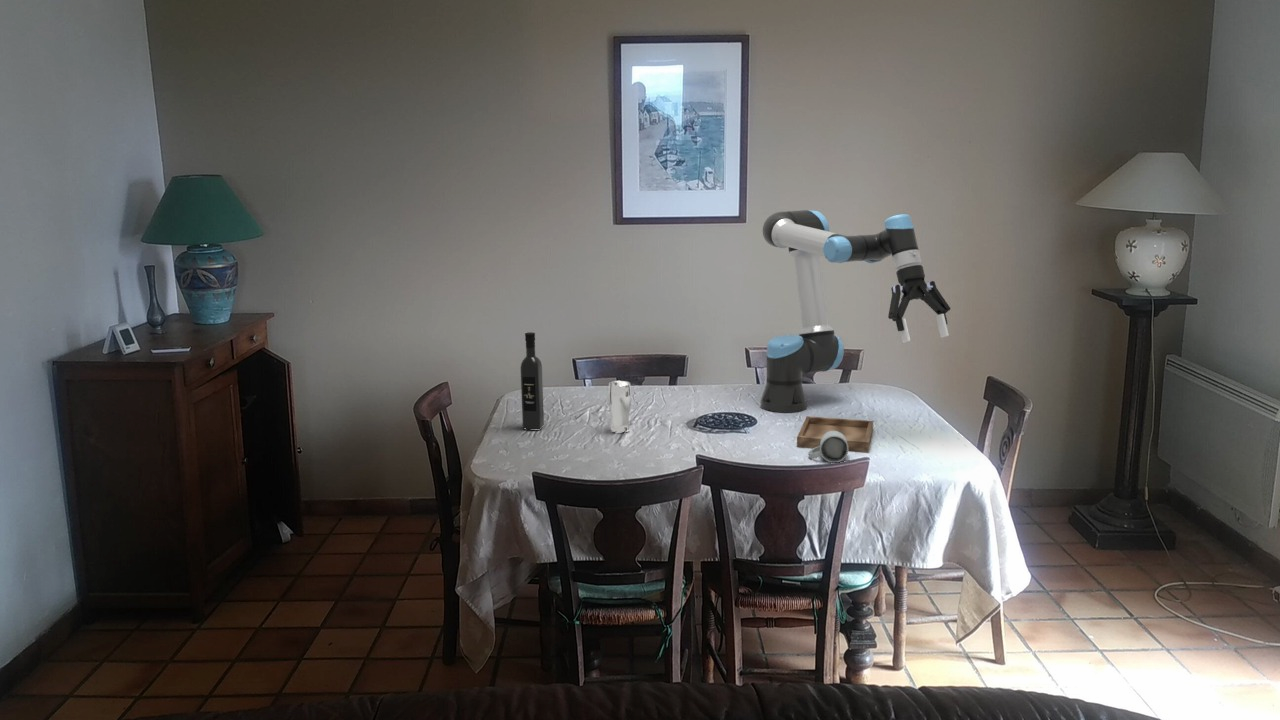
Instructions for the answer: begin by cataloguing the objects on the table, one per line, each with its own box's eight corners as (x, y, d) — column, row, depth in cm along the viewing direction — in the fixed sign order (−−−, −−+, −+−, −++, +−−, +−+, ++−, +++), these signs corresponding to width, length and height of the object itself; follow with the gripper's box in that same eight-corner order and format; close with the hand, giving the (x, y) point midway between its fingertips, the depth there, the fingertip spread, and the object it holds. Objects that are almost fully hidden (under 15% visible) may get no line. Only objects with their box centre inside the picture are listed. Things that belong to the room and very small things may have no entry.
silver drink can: (635, 429, 288) (634, 381, 285) (625, 435, 282) (624, 387, 278) (615, 426, 291) (614, 379, 287) (605, 432, 285) (604, 384, 281)
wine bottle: (539, 431, 287) (536, 335, 280) (521, 430, 288) (517, 334, 281) (545, 425, 292) (541, 331, 286) (527, 425, 293) (523, 331, 287)
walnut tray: (796, 446, 269) (797, 436, 268) (806, 425, 289) (806, 416, 289) (868, 452, 263) (868, 442, 262) (872, 430, 284) (873, 420, 283)
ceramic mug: (846, 454, 262) (846, 427, 260) (848, 463, 254) (848, 436, 253) (807, 453, 264) (808, 427, 262) (808, 462, 256) (808, 435, 254)
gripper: (881, 267, 261) (898, 341, 258) (951, 260, 271) (969, 331, 267) (865, 275, 268) (882, 347, 265) (935, 268, 277) (951, 337, 274)
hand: (925, 339), depth 266 cm, fingers open, 13 cm apart
